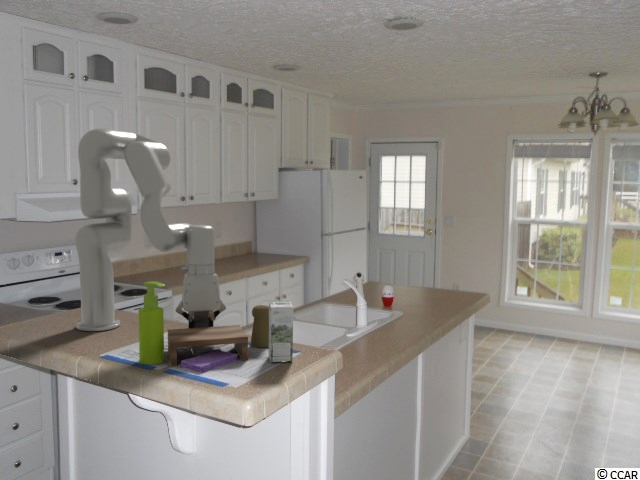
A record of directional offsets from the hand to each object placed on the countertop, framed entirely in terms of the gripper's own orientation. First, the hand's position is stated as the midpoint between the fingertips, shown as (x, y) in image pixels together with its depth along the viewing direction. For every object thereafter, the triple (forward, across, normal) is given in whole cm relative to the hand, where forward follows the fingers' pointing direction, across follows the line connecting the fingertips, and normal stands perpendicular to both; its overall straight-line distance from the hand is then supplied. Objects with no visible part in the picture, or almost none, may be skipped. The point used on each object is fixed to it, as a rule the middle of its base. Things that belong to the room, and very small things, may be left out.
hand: (201, 333), depth 159 cm
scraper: (+2, 0, -6) cm, 6 cm away
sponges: (+3, 0, -20) cm, 20 cm away
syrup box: (+2, +17, -22) cm, 28 cm away
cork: (+2, +16, -8) cm, 18 cm away
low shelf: (+2, 0, -14) cm, 14 cm away
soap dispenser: (+2, -13, -14) cm, 20 cm away
